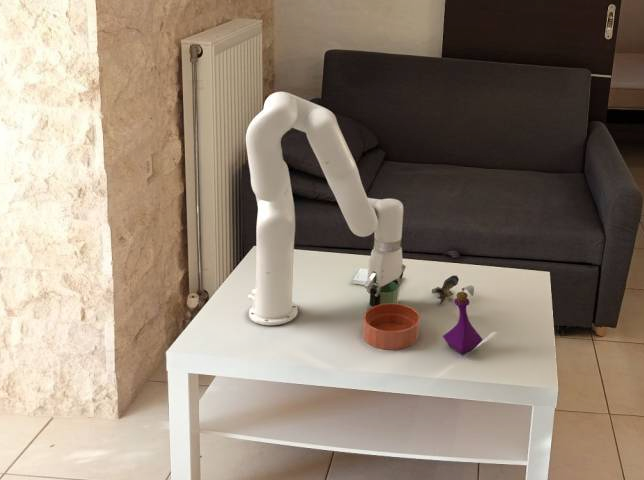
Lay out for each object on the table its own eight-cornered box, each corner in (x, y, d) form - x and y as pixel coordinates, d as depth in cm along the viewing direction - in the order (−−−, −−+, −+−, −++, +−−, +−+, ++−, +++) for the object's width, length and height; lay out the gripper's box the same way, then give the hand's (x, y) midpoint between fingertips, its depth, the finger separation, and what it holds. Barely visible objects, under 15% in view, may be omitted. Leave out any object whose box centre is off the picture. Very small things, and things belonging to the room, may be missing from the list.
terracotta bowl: (350, 337, 189) (351, 318, 188) (387, 315, 202) (388, 297, 201) (394, 358, 182) (395, 338, 181) (429, 334, 195) (430, 315, 193)
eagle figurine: (460, 303, 210) (464, 284, 218) (447, 285, 208) (452, 266, 216) (437, 312, 212) (442, 293, 220) (425, 294, 210) (430, 275, 218)
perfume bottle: (441, 347, 189) (446, 284, 185) (462, 338, 194) (468, 276, 190) (460, 360, 184) (466, 295, 180) (482, 351, 189) (488, 287, 185)
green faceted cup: (364, 308, 205) (366, 287, 203) (382, 298, 211) (383, 277, 210) (385, 317, 201) (386, 295, 200) (402, 307, 207) (404, 286, 206)
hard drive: (352, 279, 217) (393, 284, 216) (361, 267, 225) (400, 272, 224) (352, 284, 218) (393, 289, 217) (360, 272, 226) (399, 277, 224)
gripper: (397, 230, 211) (393, 286, 215) (355, 249, 196) (353, 309, 200) (417, 237, 207) (413, 294, 211) (377, 257, 193) (373, 318, 196)
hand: (384, 301), depth 205 cm, fingers closed on green faceted cup, 7 cm apart
